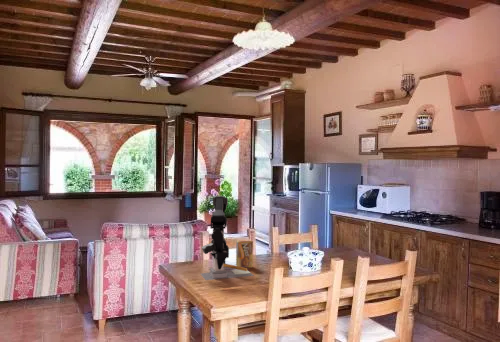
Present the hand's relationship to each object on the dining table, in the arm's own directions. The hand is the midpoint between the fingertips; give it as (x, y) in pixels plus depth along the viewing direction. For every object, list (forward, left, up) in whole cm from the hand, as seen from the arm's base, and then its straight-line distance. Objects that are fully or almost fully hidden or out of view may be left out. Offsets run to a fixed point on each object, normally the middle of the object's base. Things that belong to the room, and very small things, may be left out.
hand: (218, 268), depth 224 cm
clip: (+1, +7, 0) cm, 8 cm away
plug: (0, 0, -4) cm, 4 cm away
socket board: (-1, +5, -5) cm, 7 cm away
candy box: (-16, +20, -5) cm, 26 cm away
